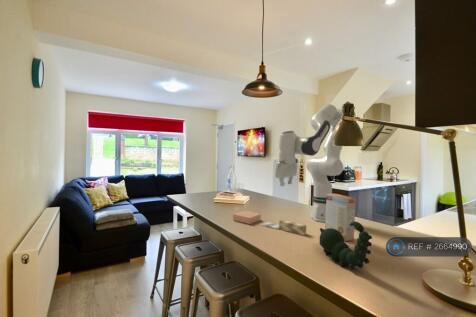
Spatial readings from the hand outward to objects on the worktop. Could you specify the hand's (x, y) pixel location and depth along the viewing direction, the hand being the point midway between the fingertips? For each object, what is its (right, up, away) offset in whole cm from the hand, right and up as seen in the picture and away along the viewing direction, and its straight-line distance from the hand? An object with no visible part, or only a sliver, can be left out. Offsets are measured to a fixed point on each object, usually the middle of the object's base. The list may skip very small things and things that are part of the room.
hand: (286, 185), depth 135 cm
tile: (-17, -21, +8) cm, 28 cm away
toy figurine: (+13, -26, -40) cm, 49 cm away
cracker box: (+24, -25, -12) cm, 37 cm away
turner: (-2, -24, -3) cm, 24 cm away
